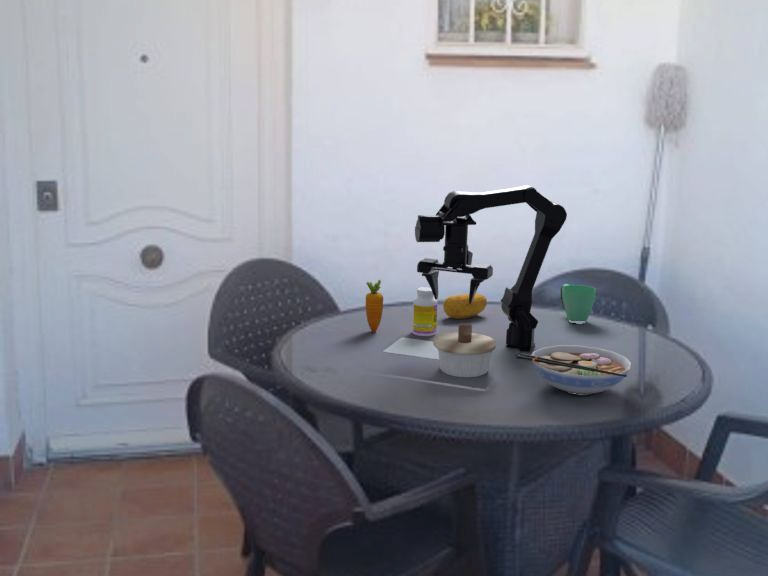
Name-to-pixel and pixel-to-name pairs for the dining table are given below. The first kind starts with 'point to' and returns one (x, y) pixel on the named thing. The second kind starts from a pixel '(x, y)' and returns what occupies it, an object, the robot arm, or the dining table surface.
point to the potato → (464, 306)
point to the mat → (414, 348)
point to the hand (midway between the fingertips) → (453, 301)
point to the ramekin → (464, 364)
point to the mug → (577, 301)
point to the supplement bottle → (424, 313)
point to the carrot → (374, 306)
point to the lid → (464, 341)
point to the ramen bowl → (579, 367)
